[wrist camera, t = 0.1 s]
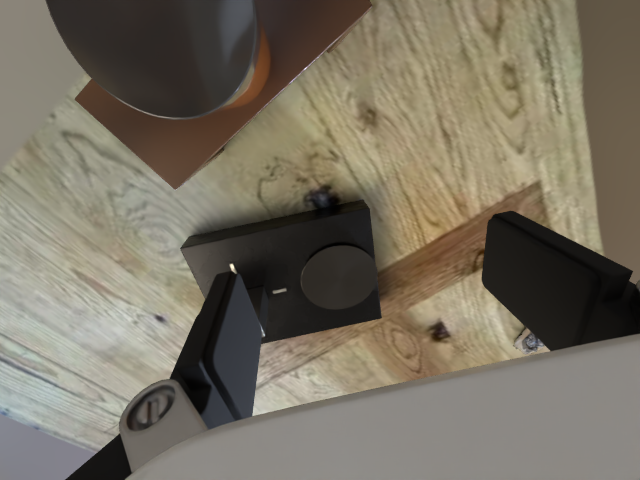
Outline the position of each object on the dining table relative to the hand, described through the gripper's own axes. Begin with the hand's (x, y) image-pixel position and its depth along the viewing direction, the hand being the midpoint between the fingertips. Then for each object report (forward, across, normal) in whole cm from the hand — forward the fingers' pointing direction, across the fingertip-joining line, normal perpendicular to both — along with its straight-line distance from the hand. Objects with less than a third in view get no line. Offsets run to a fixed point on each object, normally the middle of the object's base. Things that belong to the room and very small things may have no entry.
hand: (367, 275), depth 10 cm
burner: (+15, 0, +11) cm, 18 cm away
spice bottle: (+8, +4, -9) cm, 13 cm away
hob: (+18, +5, +11) cm, 21 cm away
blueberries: (+18, -26, +30) cm, 43 cm away
